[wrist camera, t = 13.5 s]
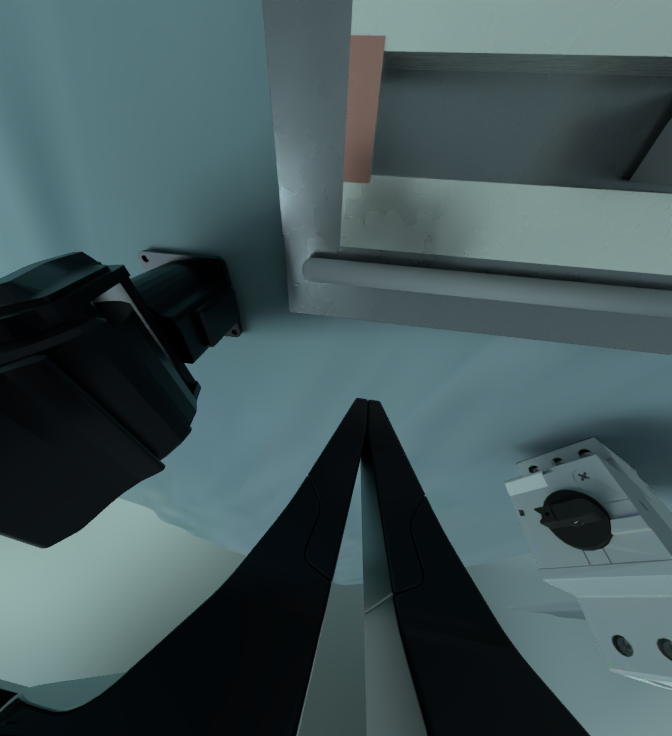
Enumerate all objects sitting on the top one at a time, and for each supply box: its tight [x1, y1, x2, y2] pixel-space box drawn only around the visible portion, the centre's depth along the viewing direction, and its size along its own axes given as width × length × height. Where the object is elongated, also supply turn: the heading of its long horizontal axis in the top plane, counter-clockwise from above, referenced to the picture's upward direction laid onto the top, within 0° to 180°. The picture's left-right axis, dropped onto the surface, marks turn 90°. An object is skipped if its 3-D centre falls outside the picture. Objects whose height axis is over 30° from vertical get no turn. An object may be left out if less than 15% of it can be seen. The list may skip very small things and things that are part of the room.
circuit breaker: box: [504, 437, 672, 689], centre depth 20 cm, size 8×14×15 cm, turn 57°
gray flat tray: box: [302, 258, 672, 318], centre depth 10 cm, size 23×14×1 cm, turn 88°
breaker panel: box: [262, 0, 672, 355], centre depth 10 cm, size 26×20×3 cm
